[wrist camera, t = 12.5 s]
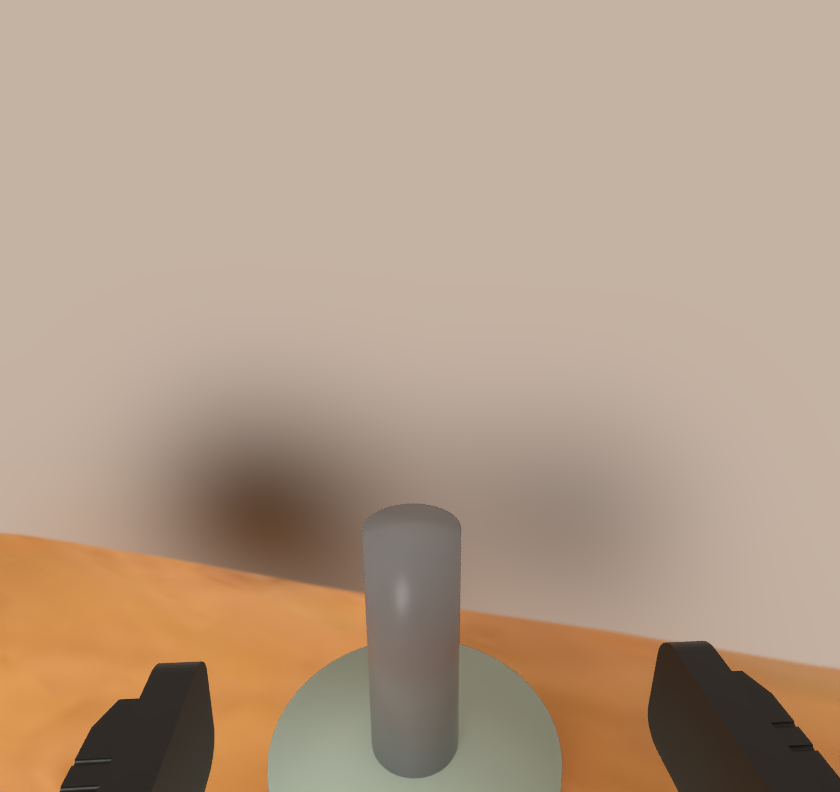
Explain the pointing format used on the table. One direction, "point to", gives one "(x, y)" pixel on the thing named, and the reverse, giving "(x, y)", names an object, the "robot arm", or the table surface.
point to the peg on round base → (414, 687)
